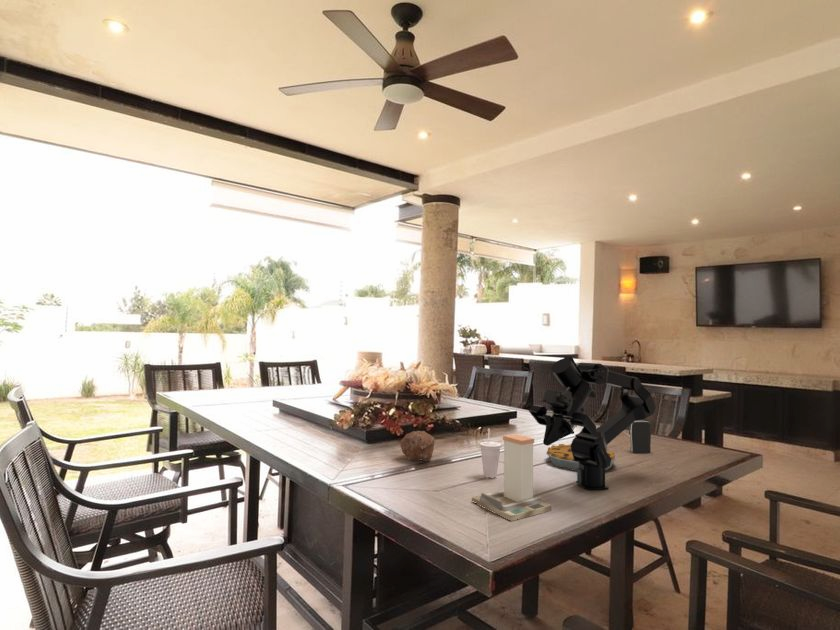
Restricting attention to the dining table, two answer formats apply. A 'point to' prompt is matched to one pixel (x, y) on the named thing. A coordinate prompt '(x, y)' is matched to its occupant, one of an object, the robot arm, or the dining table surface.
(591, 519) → the dining table surface
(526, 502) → the switch base
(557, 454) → the pie
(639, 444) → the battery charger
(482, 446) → the smoothie
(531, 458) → the white rectangular tower
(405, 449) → the decorative rock
